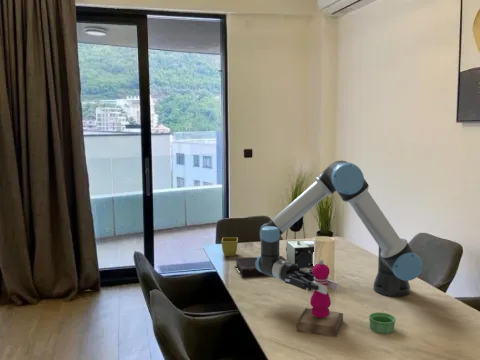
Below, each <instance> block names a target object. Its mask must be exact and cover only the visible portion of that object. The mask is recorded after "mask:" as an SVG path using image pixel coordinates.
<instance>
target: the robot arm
mask: <svg viewBox="0 0 480 360" xmlns="http://www.w3.org/2000/svg"><path fill="white" fill-rule="evenodd" d="M369 186H370V185H369V183H368V182H367V180H366V179H365V177H364V173H363V172H362V169H361V168H360V167H359V166H357V165H356V164H354V163H351V162H348V161H346V160H335V161H334V162H332V163H331V164H329V165H328V166H327V167H326V168H325V169H324V170H323V171H322V172H321V173H320V174H319V175H317V176H316V178H315V181H314V182H313V183H312V184H310V186H308V187H307V188H306V189H305V190H304V191H303V192H302V193H300V195H298V196H297V197H296V198H295V199H294V200H293V201H291V202H290V203H289V204H288V205H287V206H286V207H284V209H282V210H281V211H280V212H278V214H276V215H275V216H274V217H273V218H272V219H271V220H269V222H267V223H264V224H263V225H261V227H260V228H259V233H258V234H259V239H260V254H259V255H258V256H257V260H256V262H255V265H256V268H257V270H258V271H260V272H262V273H263V274H266V275H268V276H270V277H273V278H275V279H278V280H280V282H284V283H285V284H288V285H291V286H294V287H297V288H299V289H300V290H301V289H302V290H305V291H306V290H307V291H308V292H311V291H312V290H313V291H314V290H316V291H318V292H321V293H323V294H327V292H328V289H331V290H333V291H339V282H337V281H334V280H331V279H329V275H328V276H327V278H328V282H327V285H326V286H325V285H322V284H320V283H317V282H314V277H315V276H314V275H313V272H312V271H313V269H308V272H305V271H303V270H300V269H299V267H298V266H297V265H295V264H292V263H289V262H288V261H284V260H281V259H279V256H280V242H281V241H280V239H281V235H283V234H284V233H285V232H286V231H287V230H288V229H290V228H291V227H293V225H294V224H296V223H297V222H298V221H299V220H300V219H301V218H302V217H304V216H305V215H306V214H308V213H309V212H310V211H311V210H312V209H313V208H314V207H316V206H317V204H319V203H320V202H321V201H323V200H324V198H326V197H327V196H328V195H333V194H334V193H336V192H337V194H338V196H340V198H341V200H342V201H343V202H345V203H349V204H350V206H351V207H352V209H353V210H354V212H355V213H356V214H357V216H358V218H359V219H360V220H361V222H362V224H363V225H364V226H365V228H366V229H367V231H368V233H369V234H370V235H371V237H372V238H373V240H374V241H375V243H376V244H377V247H378V257H377V258H378V260H377V261H378V266H377V268H378V270H377V274H376V275H375V279H374V282H373V288H372V289H373V290H374V291H375V292H376V293H378V294H380V295H383V296H389V297H403V296H408V295H410V293H411V286H410V283H409V281H413V280H414V279H416V278H417V277H419V276H420V274H421V273H422V270H423V260H422V259H421V257H420V256H419V255H418V254H417V253H415V251H414V250H413V248H412V246H410V244H409V243H408V240H407V239H405V238H400V236H399V235H398V233H397V232H396V231H395V229H394V227H393V226H392V224H391V223H390V221H389V220H388V218H387V217H386V216H385V214H384V212H383V211H382V210H381V209H380V207H379V205H378V204H377V203H376V201H375V199H374V197H373V196H372V195H371V193H370V191H369Z"/></svg>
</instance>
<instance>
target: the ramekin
mask: <svg viewBox="0 0 480 360" xmlns="http://www.w3.org/2000/svg"><path fill="white" fill-rule="evenodd" d="M368 318H369V327H370V329H371V330H372V332H375V333H377V334H382V335H383V334H384V335H388V334H391V333H393V332H394V330H395V324H396V320H397V319H396V317H395V315H393V314H391V313H387V312H382V311H381V312H380V311H379V312H372V313H370V314H369V315H368Z"/></svg>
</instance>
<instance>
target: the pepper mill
mask: <svg viewBox="0 0 480 360" xmlns="http://www.w3.org/2000/svg"><path fill="white" fill-rule="evenodd" d="M323 260H324V259H323ZM323 260H319V259H318V263H317V264H316V265H315V266H312V272H313V275H314V276H315V277H314V282H317V283H320V284H322V285H325V286H326V285H327V282H328V279H329V275H330V274H331V273H330V272H331V271H330V268H329V266H328V265H326V264H325V261H324V262H323ZM323 263H324V264H323ZM327 276H328V278H327ZM331 304H332V300H331V298H330V295H329V292H328V291H327V294H323V293H321V292H318V291H316V290H313V293H312V295H311V297H310V305H311V309H312V315H313V316H316V317H327V316H328V315H329V311H330V307H331Z"/></svg>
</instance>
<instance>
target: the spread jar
mask: <svg viewBox="0 0 480 360" xmlns="http://www.w3.org/2000/svg"><path fill="white" fill-rule="evenodd" d="M303 242H304V243H307V244H309V247H310V253H312V264H310V268H311V267H314V266H313V252H314V242H315V241H312V240H305V241H303Z"/></svg>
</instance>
